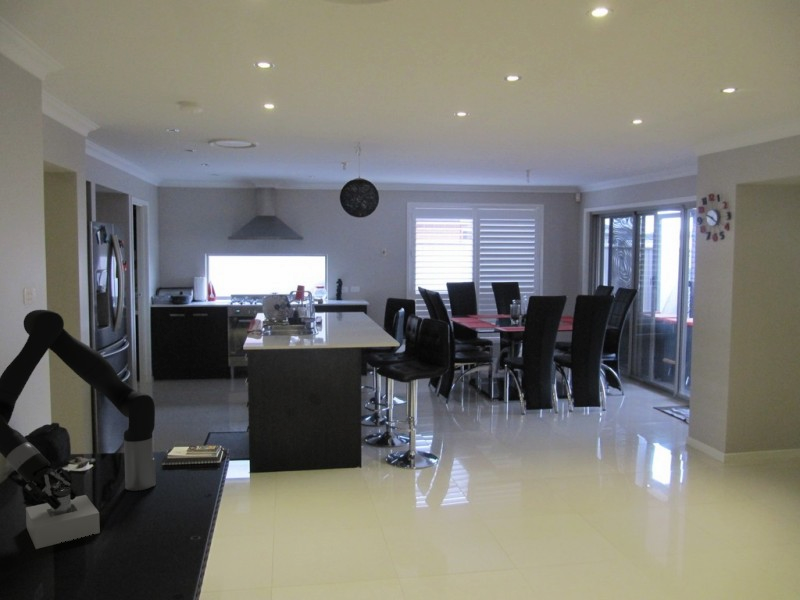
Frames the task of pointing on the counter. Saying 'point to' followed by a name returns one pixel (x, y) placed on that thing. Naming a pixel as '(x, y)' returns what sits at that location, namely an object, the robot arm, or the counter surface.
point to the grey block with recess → (62, 522)
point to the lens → (62, 500)
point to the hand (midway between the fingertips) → (66, 502)
